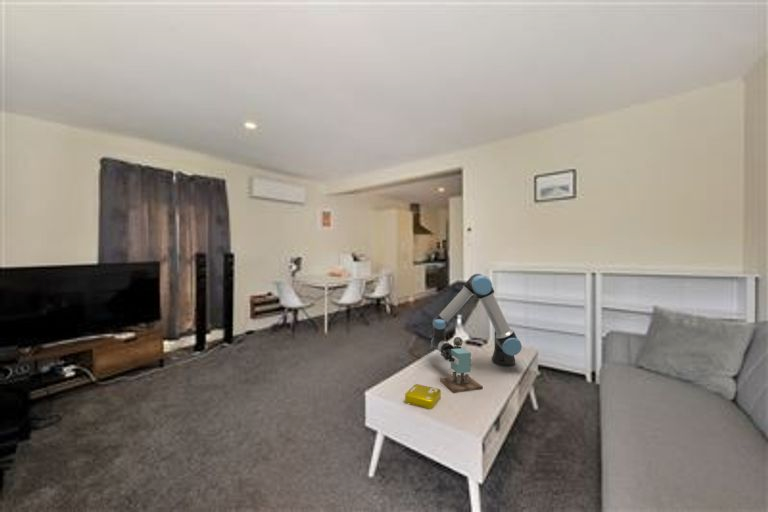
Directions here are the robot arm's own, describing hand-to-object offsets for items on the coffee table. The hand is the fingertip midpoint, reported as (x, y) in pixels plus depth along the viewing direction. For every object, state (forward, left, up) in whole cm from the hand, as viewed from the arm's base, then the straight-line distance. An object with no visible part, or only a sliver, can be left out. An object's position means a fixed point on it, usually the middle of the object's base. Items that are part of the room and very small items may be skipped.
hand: (465, 361), depth 175 cm
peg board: (0, -5, -15) cm, 16 cm away
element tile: (+27, +5, -16) cm, 32 cm away
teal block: (0, -5, -7) cm, 8 cm away
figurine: (-18, -41, -15) cm, 47 cm away
